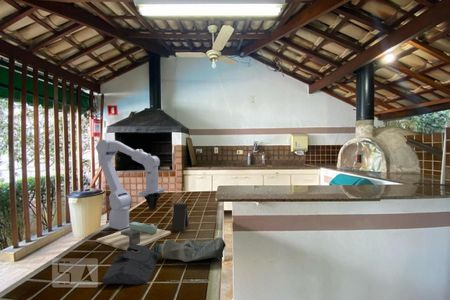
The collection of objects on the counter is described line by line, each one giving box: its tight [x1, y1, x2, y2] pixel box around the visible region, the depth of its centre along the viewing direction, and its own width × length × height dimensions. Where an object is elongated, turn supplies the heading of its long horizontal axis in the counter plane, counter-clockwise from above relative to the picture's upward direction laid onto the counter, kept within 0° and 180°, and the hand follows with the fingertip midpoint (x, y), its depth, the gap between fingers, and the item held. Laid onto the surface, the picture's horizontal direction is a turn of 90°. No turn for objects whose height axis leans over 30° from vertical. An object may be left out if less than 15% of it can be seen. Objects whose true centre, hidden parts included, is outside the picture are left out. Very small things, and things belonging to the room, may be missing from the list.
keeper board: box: [96, 227, 172, 251], centre depth 107 cm, size 21×22×6 cm
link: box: [128, 221, 158, 234], centre depth 113 cm, size 16×4×3 cm, turn 60°
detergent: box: [153, 236, 227, 263], centre depth 87 cm, size 13×7×25 cm
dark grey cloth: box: [102, 244, 161, 285], centre depth 80 cm, size 15×22×5 cm
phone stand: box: [171, 202, 190, 232], centre depth 120 cm, size 9×6×12 cm, turn 173°
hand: (152, 209), depth 119 cm, fingers closed
